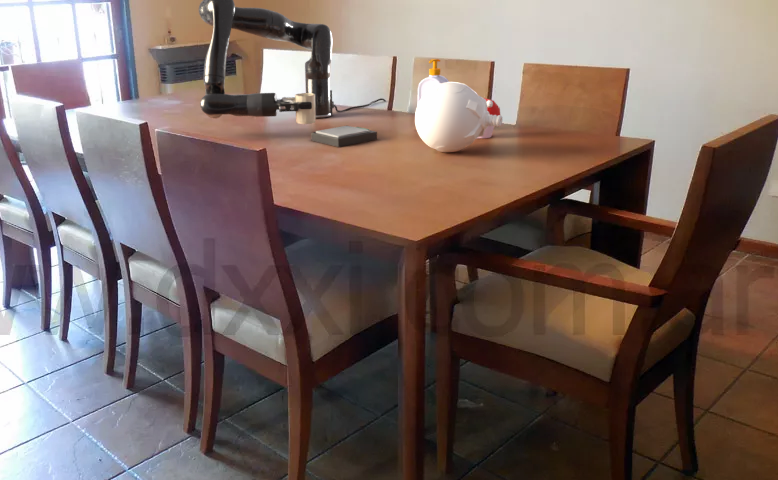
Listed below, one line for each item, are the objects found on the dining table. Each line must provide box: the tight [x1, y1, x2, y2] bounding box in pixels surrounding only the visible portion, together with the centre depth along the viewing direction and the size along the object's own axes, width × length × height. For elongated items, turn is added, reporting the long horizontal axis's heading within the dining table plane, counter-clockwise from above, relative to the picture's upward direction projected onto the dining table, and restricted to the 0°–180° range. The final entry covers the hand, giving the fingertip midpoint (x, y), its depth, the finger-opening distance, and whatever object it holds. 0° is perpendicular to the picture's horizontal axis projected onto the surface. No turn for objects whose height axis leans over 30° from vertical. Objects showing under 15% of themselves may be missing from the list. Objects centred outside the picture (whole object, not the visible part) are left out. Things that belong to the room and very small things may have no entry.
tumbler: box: [294, 92, 317, 125], centre depth 224 cm, size 6×6×9 cm
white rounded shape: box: [414, 81, 503, 153], centre depth 195 cm, size 20×25×20 cm
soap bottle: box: [416, 58, 450, 107], centre depth 225 cm, size 9×7×23 cm
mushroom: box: [476, 97, 501, 139], centre depth 216 cm, size 11×11×12 cm
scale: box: [310, 125, 378, 148], centre depth 219 cm, size 16×14×3 cm
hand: (312, 103), depth 223 cm, fingers closed on tumbler, 6 cm apart
